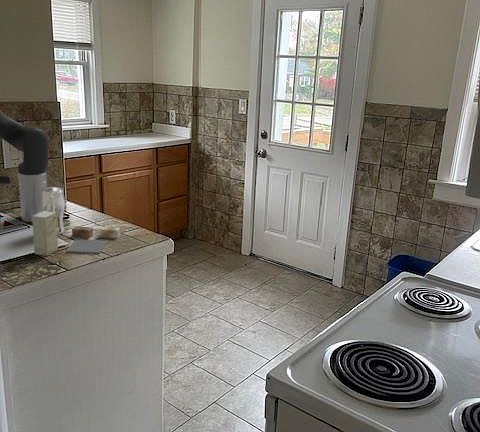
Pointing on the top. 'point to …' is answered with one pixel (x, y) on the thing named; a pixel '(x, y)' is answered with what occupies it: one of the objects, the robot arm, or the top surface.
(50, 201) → the beer glass
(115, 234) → the beech brick
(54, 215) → the skincare box
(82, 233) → the walnut brick
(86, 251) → the slate coaster
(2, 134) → the robot arm
